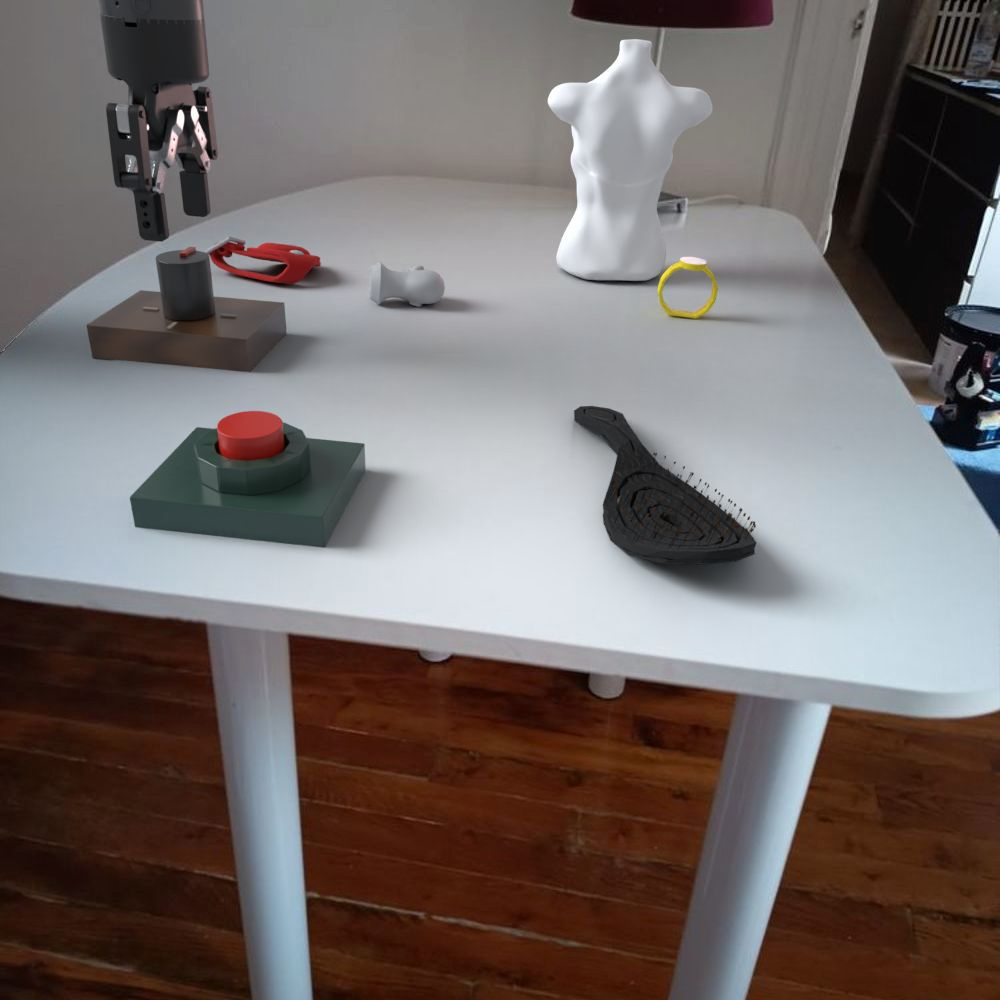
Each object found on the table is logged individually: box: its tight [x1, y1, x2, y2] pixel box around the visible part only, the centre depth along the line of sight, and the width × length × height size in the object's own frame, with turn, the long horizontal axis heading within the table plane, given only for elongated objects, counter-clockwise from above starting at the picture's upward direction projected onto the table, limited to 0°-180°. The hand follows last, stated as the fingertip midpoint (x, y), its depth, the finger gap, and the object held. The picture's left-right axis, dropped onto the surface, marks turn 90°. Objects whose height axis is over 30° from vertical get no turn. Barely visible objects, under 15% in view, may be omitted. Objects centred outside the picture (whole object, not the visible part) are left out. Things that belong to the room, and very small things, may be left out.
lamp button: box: [216, 410, 285, 461], centre depth 58 cm, size 4×4×2 cm
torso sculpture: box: [547, 38, 714, 282], centre depth 103 cm, size 18×10×25 cm, turn 95°
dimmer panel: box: [86, 289, 287, 373], centre depth 82 cm, size 14×10×3 cm
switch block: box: [129, 421, 366, 548], centre depth 59 cm, size 12×10×4 cm
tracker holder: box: [203, 236, 322, 285], centre depth 101 cm, size 12×4×10 cm
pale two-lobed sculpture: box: [368, 261, 446, 308], centre depth 95 cm, size 4×8×5 cm
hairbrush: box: [573, 405, 758, 565], centre depth 62 cm, size 8×4×25 cm
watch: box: [657, 256, 719, 320], centre depth 95 cm, size 6×3×6 cm, turn 86°
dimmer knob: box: [155, 246, 215, 321], centre depth 80 cm, size 4×4×5 cm
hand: (177, 227), depth 78 cm, fingers open, 8 cm apart
